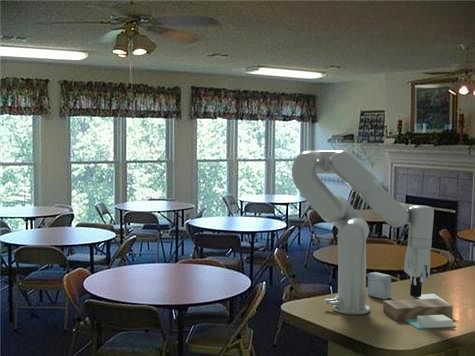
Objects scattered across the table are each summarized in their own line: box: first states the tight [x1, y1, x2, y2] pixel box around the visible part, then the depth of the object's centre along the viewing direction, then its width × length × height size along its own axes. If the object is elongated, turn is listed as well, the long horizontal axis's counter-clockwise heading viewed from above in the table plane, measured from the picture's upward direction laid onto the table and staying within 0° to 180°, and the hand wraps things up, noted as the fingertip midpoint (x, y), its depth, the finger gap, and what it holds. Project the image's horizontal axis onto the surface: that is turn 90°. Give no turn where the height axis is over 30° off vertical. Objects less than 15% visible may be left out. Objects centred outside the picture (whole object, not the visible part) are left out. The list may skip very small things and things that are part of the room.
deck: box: [382, 298, 454, 321], centre depth 192 cm, size 20×10×4 cm, turn 99°
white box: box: [417, 315, 454, 329], centre depth 181 cm, size 9×6×2 cm, turn 99°
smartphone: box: [413, 293, 451, 305], centre depth 209 cm, size 9×2×16 cm
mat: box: [404, 319, 457, 330], centre depth 182 cm, size 13×9×1 cm
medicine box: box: [367, 271, 392, 300], centre depth 216 cm, size 8×4×9 cm, turn 34°
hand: (415, 296), depth 191 cm, fingers closed
